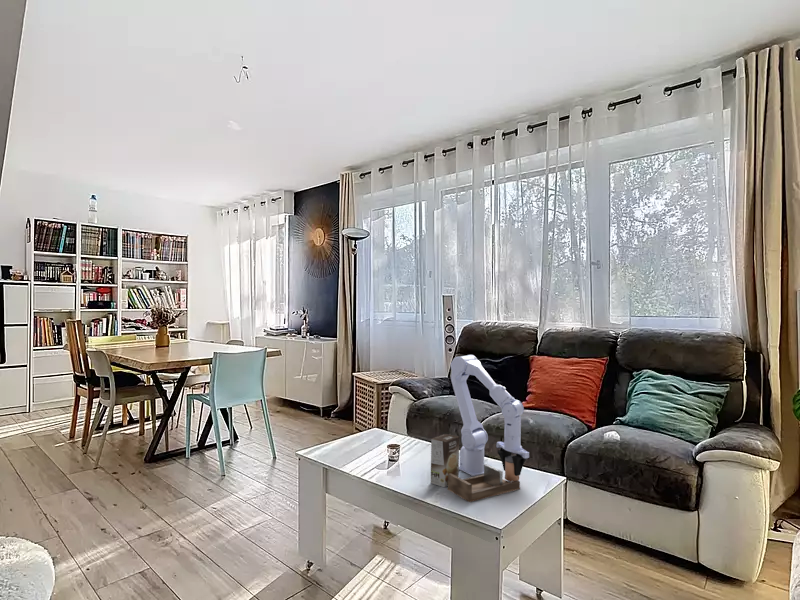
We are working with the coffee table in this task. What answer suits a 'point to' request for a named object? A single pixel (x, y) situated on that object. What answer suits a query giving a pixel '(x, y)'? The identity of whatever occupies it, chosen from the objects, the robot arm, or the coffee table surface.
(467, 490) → the pusher lane
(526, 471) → the coffee table surface
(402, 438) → the coffee table surface
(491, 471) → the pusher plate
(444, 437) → the coffee box
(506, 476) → the jar
